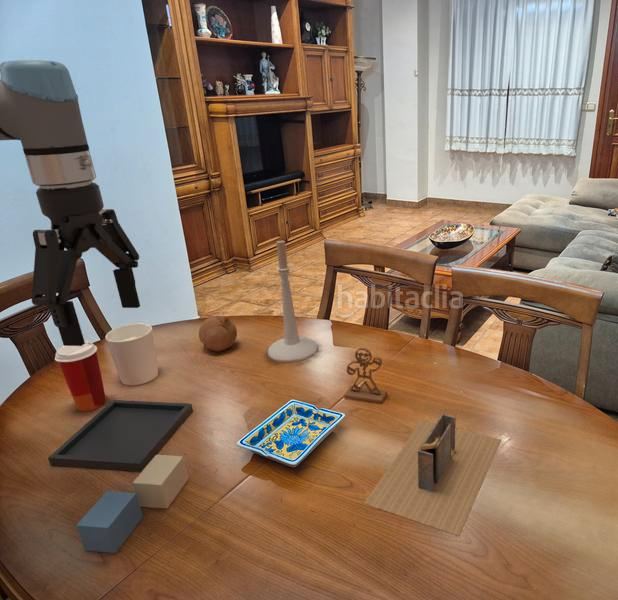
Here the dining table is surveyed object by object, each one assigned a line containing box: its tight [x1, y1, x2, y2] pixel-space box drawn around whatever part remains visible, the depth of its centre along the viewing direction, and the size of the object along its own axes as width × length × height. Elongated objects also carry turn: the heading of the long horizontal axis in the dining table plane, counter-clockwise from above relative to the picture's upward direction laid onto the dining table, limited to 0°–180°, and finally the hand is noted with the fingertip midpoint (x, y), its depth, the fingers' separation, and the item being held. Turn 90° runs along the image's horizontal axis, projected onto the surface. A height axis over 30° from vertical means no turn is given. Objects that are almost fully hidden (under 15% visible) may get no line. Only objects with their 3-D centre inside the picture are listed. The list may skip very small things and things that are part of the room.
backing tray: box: [47, 399, 194, 472], centre depth 101 cm, size 18×19×2 cm
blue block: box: [76, 490, 144, 554], centre depth 78 cm, size 5×7×5 cm
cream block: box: [132, 454, 189, 510], centre depth 86 cm, size 5×7×5 cm
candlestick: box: [267, 239, 319, 363], centre depth 128 cm, size 13×13×30 cm
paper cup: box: [54, 340, 107, 412], centre depth 110 cm, size 8×8×14 cm
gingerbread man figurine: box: [343, 347, 388, 405], centre depth 111 cm, size 9×4×12 cm, turn 73°
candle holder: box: [105, 322, 159, 387], centre depth 121 cm, size 10×10×12 cm
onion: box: [198, 315, 238, 353], centre depth 135 cm, size 10×9×10 cm
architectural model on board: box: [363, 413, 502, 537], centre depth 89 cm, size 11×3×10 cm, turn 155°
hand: (105, 324), depth 78 cm, fingers open, 13 cm apart
